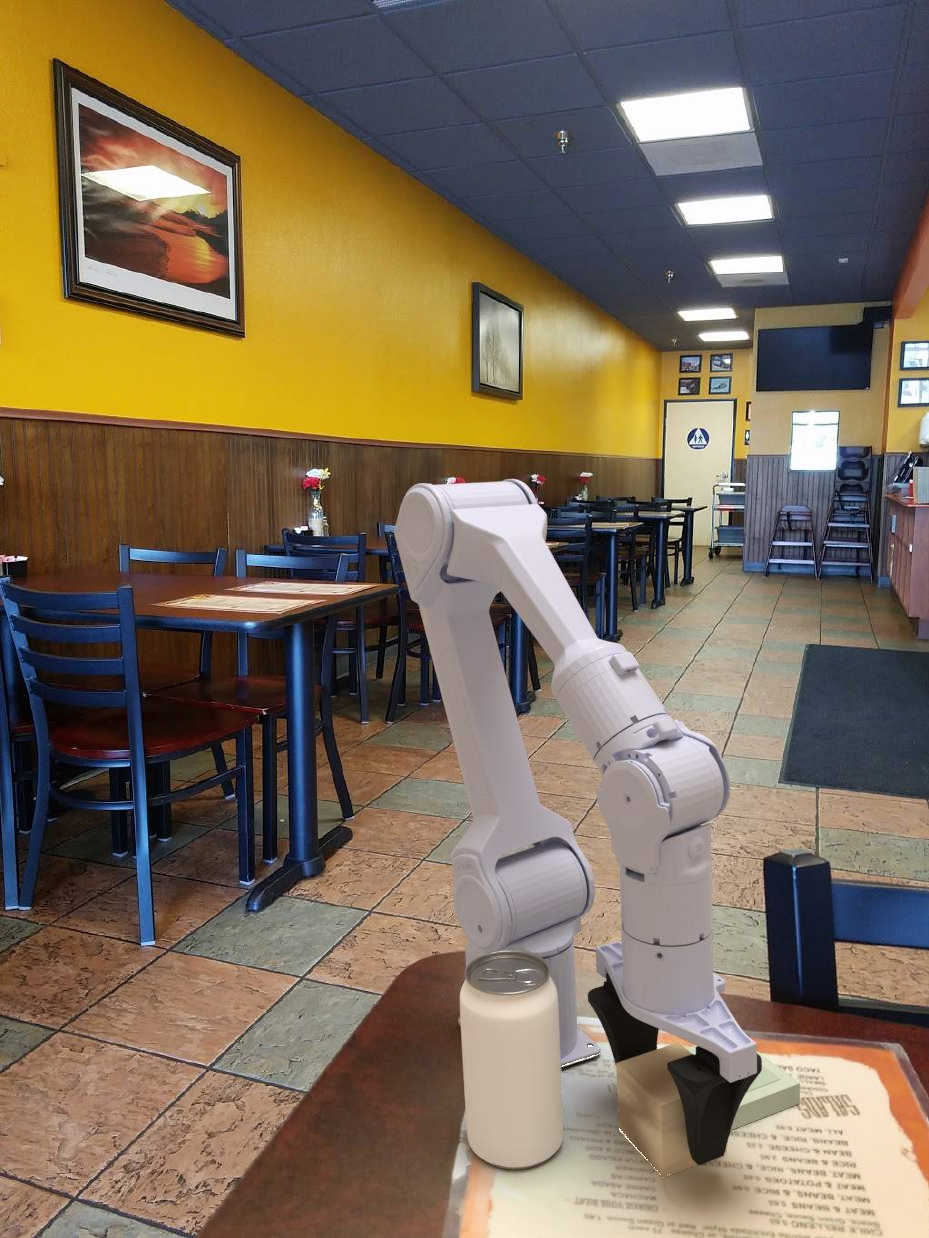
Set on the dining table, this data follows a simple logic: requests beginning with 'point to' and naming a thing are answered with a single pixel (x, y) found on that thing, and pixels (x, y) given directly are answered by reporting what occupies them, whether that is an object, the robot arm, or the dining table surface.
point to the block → (654, 1109)
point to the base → (765, 1093)
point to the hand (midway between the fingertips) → (671, 1121)
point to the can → (511, 1059)
